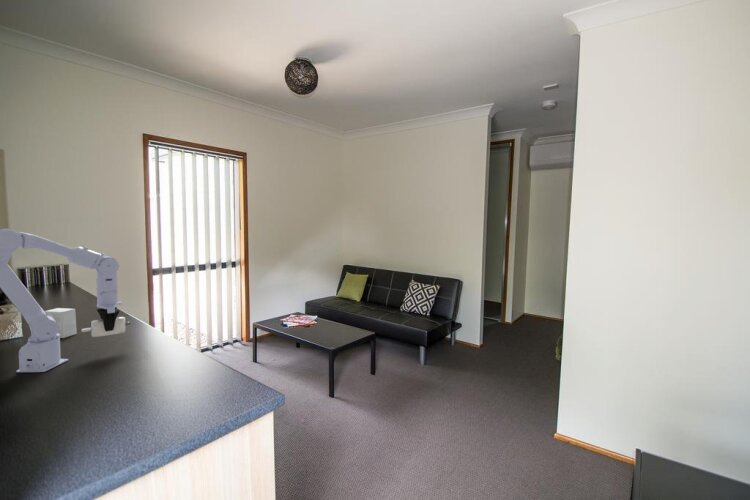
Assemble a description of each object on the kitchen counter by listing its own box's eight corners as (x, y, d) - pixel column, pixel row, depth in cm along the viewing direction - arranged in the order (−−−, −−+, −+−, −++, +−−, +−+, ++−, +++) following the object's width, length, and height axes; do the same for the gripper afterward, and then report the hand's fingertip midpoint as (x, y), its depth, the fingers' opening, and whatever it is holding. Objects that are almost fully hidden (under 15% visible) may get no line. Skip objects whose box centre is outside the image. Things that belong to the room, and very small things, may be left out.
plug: (129, 329, 128) (128, 315, 127) (131, 331, 125) (130, 317, 125) (81, 336, 118) (81, 322, 118) (82, 339, 116) (82, 324, 115)
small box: (77, 334, 141) (76, 308, 140) (63, 338, 135) (62, 311, 135) (59, 333, 142) (58, 307, 141) (44, 337, 136) (43, 310, 135)
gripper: (125, 292, 119) (126, 331, 119) (117, 286, 129) (118, 322, 130) (99, 295, 114) (100, 336, 115) (93, 288, 124) (94, 326, 125)
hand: (108, 329), depth 122 cm, fingers closed on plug, 3 cm apart
